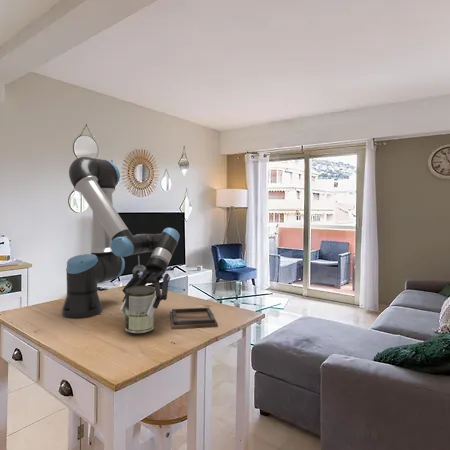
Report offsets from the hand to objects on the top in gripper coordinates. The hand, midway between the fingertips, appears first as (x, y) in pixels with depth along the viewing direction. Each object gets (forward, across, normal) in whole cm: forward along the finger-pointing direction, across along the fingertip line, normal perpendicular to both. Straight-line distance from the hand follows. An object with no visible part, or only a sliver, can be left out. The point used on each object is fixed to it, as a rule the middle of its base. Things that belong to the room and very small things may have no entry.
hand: (135, 313), depth 118 cm
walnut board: (-9, -13, -19) cm, 25 cm away
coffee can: (+2, 0, -6) cm, 7 cm away
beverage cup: (-24, +25, -35) cm, 49 cm away
